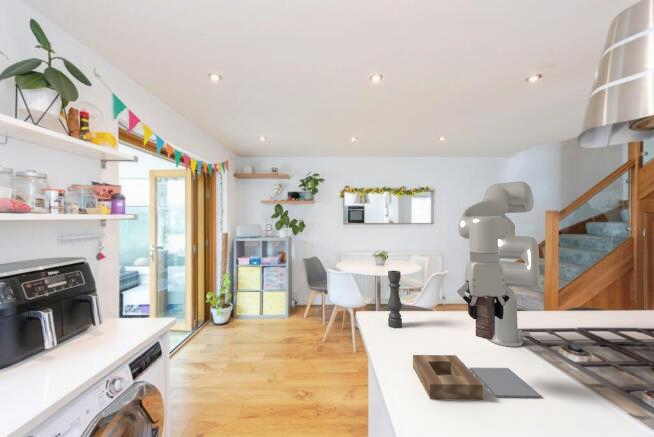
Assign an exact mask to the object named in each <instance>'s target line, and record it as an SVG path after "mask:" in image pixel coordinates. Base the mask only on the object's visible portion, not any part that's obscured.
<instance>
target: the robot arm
mask: <svg viewBox="0 0 654 437" xmlns="http://www.w3.org/2000/svg"><path fill="white" fill-rule="evenodd" d="M534 202H535V200H534V195H533V191H532V188H531V186H530V184H528V183H527V182H525V181H509V182H499V183H493V184H491V185H490V186H488V187H487V188H486V189H485V192H484V194H483V197H482V200H481V201H477V202H476V203H474V204H472V205H471V206H468V207H467V208H466V209H465V210H464V211H463V212H462V214H461V216H460V219H459V221H458V224H457V226H458V228H457V230H458V233H459V235H460V236H461V237H462V238H463V239H467V240H469V261H467V262H466V266H465V272H464V284H463V285H462V286H461V287H459V288H458V290H456V293H457V294H458V295H459V296H460V297H461V299H463V300H464V301H465V302H466V303H467V313H468V315H469V317H470V318H471V319H473V320H476V319H477V307H476V300H477V298H478V297H495V335H494V337H493V338H492V340H488V341H489V342H491V343H494V344H496V345H499V346H502V347H503V346H504V347H508V348H509V347H510V348H511V347H512V348H513V347H515V348H517V347H522V344H524V341H523V339H522V338H526V337H525V336H530V337H529V338H531V336H532V335H531V332H530V331H524V330H522V329H518V327H519V326H518V325H519V324H518V298H517V295H516V294H515V291H514V290H512V288H510V287H516V288H524V289H535V288H537V287H538V286H539V284H540V254H539V252H540V251H539V250H540V249H539V244H538V241H537V240H536V238H535V237H532V236H529V235H516V225H515V224H516V223H514V221H513V220H512V219H511V218H510V217H508V216H507V215H506V214H517V213H519V214H521V213H529V212H530V211H532V210H533V208H534V204H535V203H534ZM500 259H504V260H500ZM506 259H507V260H519V261H523V262H519V261H518V262H516V261H506ZM467 294H468V295H467Z"/></svg>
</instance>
